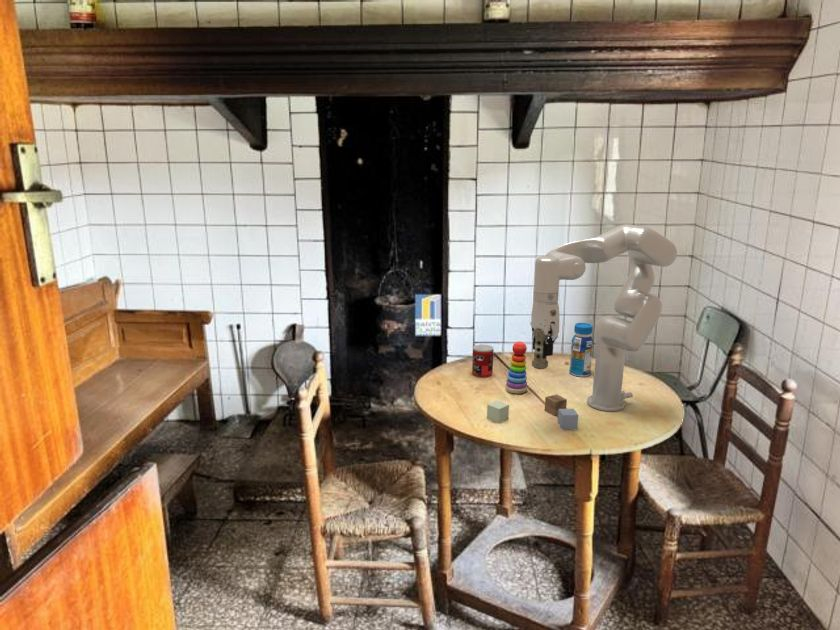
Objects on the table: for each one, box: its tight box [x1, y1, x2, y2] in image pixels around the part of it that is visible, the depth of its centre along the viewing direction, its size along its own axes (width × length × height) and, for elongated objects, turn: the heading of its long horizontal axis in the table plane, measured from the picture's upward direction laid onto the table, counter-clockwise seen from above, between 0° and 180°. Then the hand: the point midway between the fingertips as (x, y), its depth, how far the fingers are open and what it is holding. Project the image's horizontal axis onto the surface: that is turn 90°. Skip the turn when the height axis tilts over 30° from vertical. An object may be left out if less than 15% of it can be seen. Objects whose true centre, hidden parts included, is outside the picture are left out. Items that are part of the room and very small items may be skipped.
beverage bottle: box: [568, 322, 594, 378], centre depth 248 cm, size 8×8×20 cm
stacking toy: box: [504, 341, 528, 395], centre depth 231 cm, size 8×8×19 cm
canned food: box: [471, 344, 494, 378], centre depth 248 cm, size 8×8×11 cm
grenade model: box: [531, 324, 552, 370], centre depth 200 cm, size 6×7×15 cm
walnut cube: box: [544, 394, 568, 416], centre depth 215 cm, size 5×5×5 cm
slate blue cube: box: [557, 408, 579, 430], centre depth 204 cm, size 5×5×5 cm
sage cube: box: [486, 400, 510, 424], centre depth 209 cm, size 5×5×5 cm
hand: (542, 351), depth 201 cm, fingers closed on grenade model, 5 cm apart
